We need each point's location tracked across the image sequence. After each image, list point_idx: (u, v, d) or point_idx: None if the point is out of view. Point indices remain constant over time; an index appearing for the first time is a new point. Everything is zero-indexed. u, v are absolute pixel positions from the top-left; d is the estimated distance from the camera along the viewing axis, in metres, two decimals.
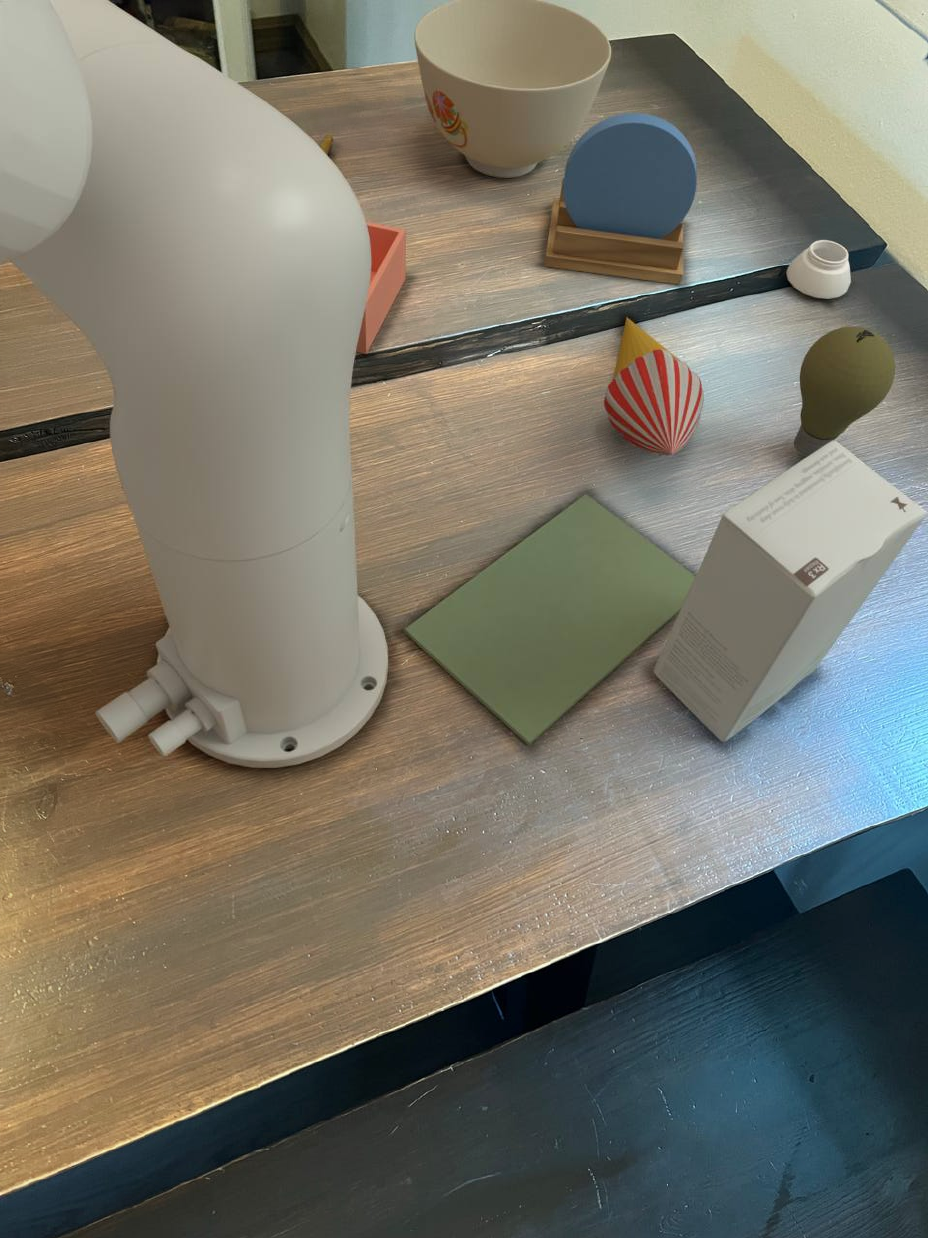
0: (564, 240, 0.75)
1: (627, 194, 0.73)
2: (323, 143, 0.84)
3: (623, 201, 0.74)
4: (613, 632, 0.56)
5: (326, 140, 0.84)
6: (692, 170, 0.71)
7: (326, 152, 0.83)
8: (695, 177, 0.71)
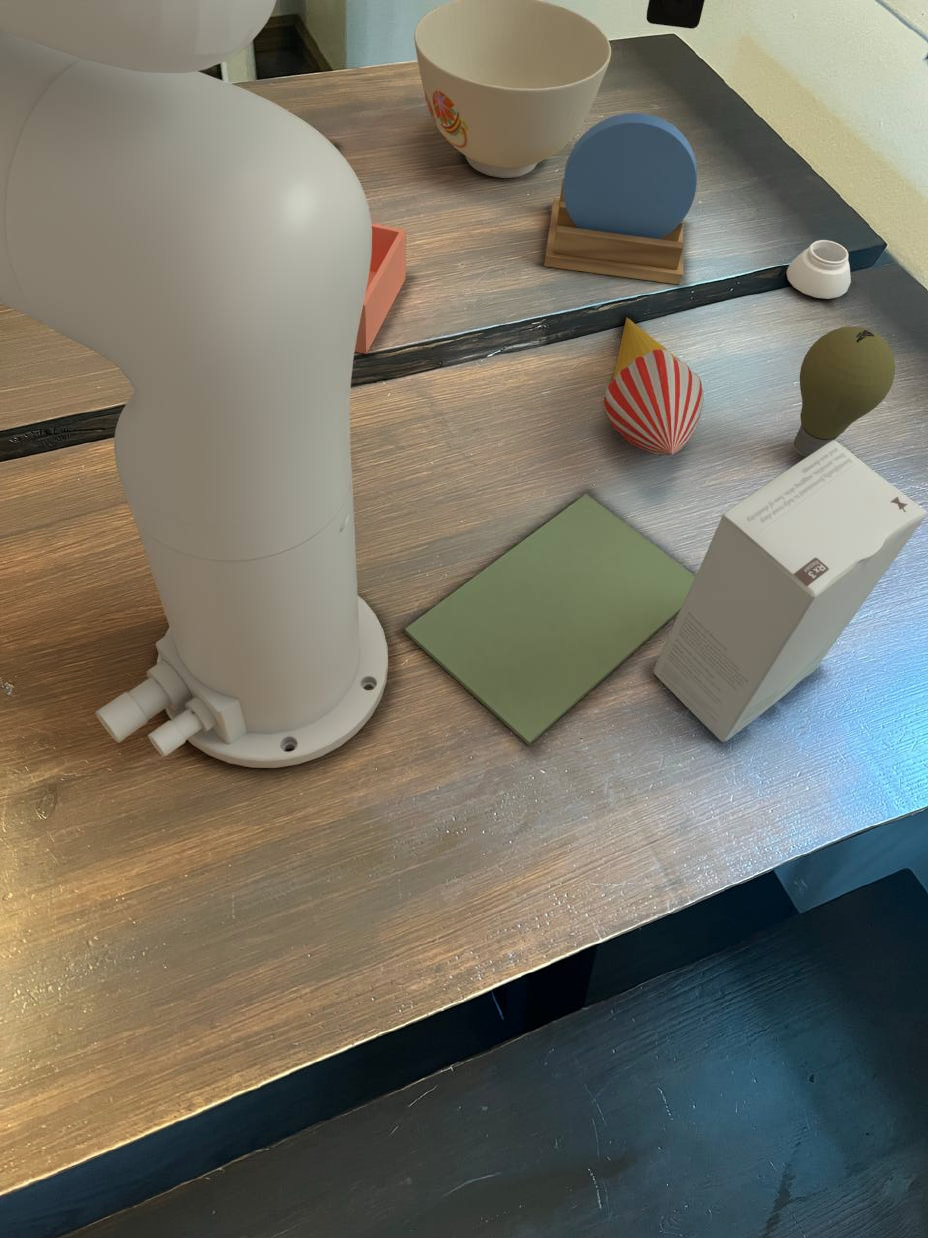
0: (564, 240, 0.75)
1: (627, 194, 0.73)
2: None
3: (623, 201, 0.74)
4: (613, 632, 0.56)
5: None
6: (692, 170, 0.71)
7: None
8: (695, 177, 0.71)
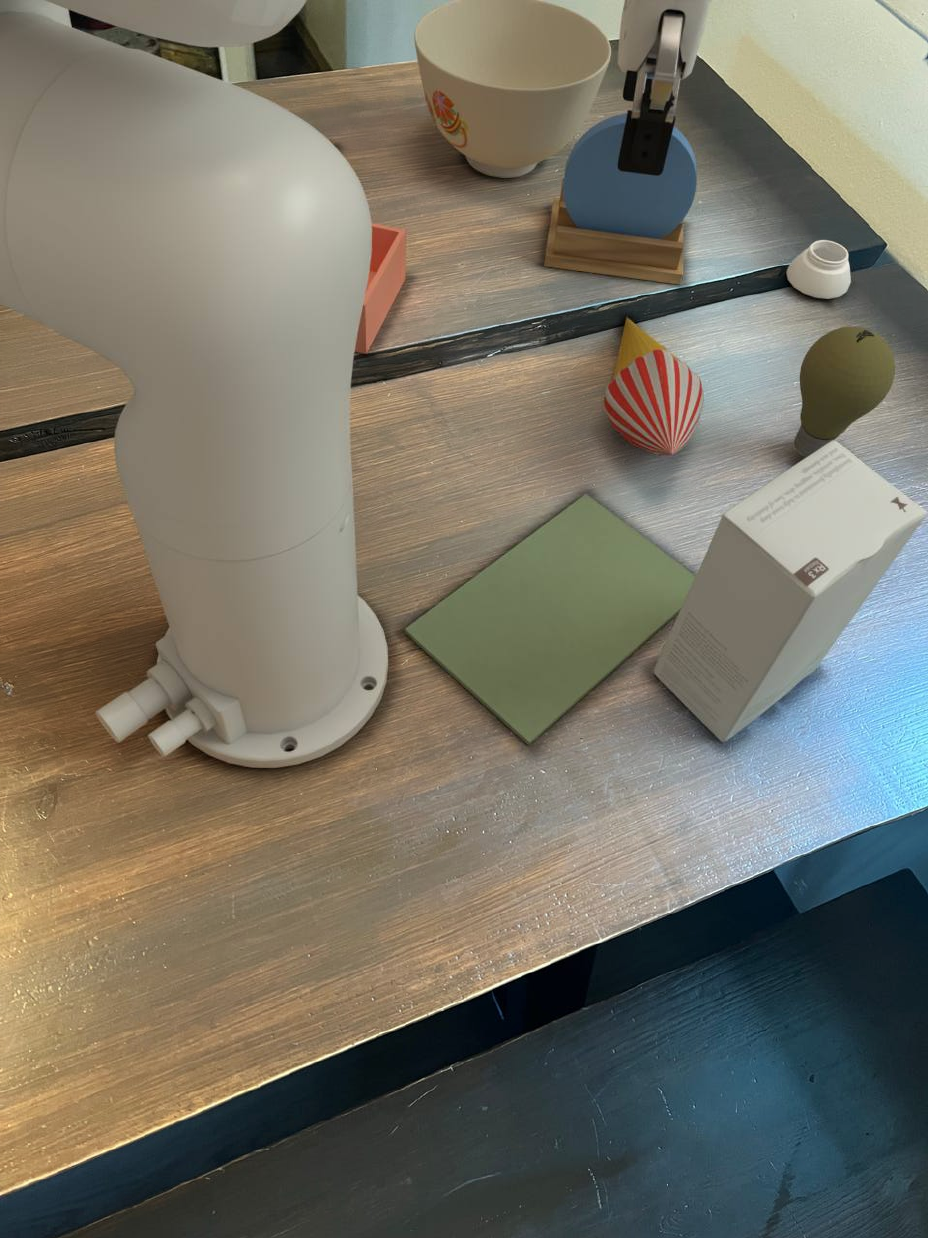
0: (564, 240, 0.75)
1: (627, 194, 0.73)
2: None
3: (623, 201, 0.74)
4: (613, 632, 0.56)
5: None
6: (692, 170, 0.71)
7: None
8: (695, 177, 0.71)
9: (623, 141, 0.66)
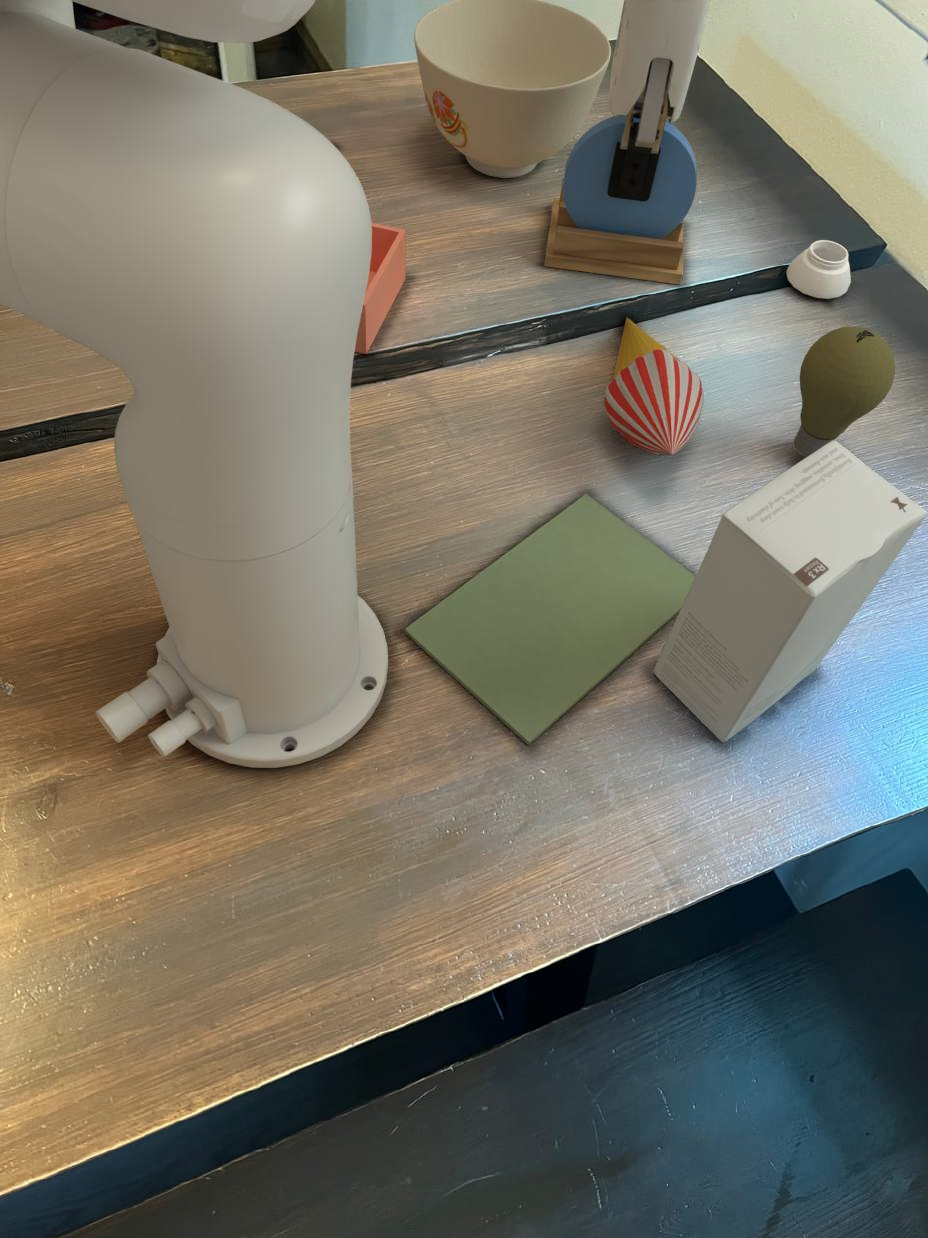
0: (564, 240, 0.75)
1: None
2: None
3: (623, 201, 0.74)
4: (613, 632, 0.56)
5: None
6: (692, 170, 0.71)
7: None
8: (695, 177, 0.71)
9: (612, 170, 0.71)
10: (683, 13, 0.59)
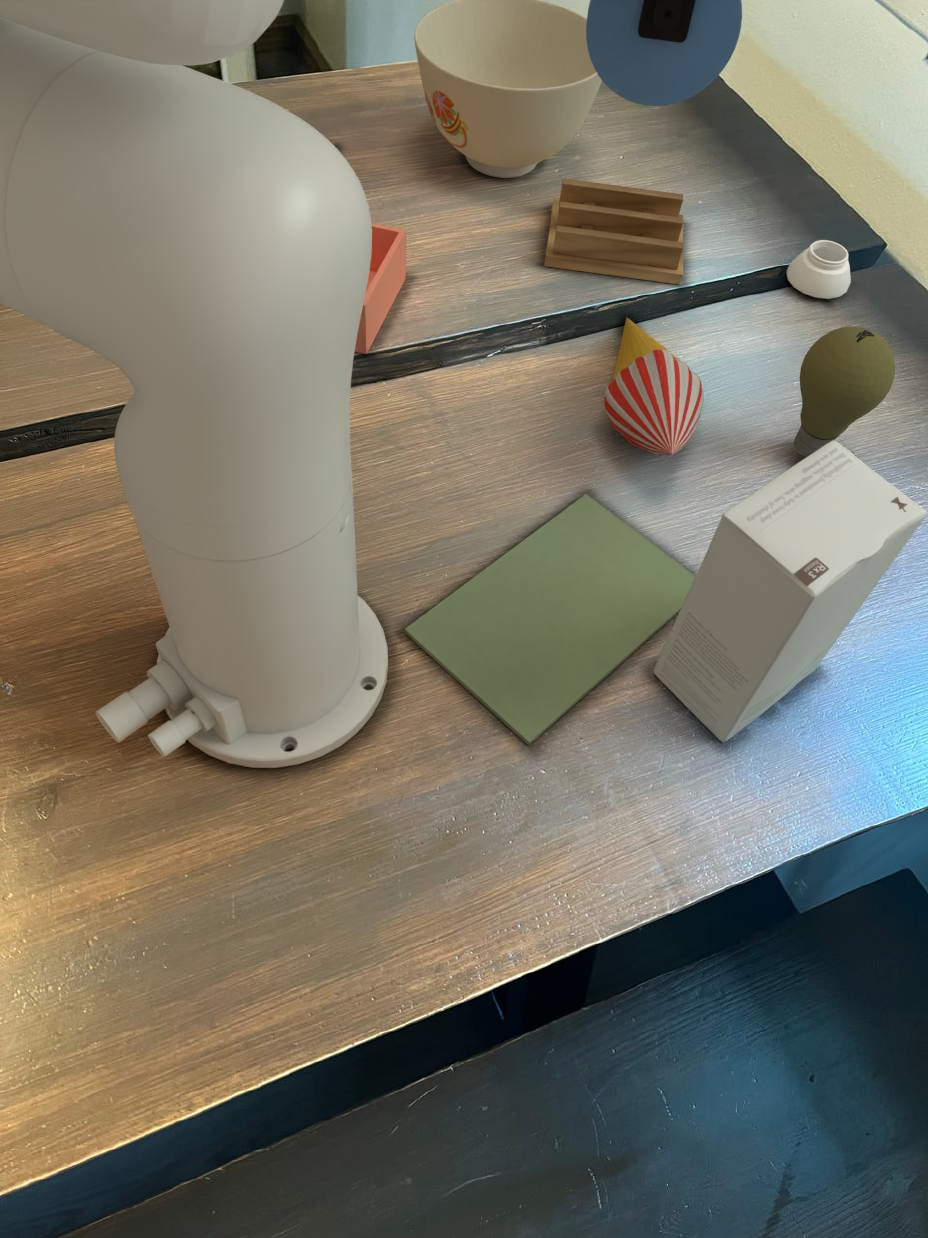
0: (564, 240, 0.75)
1: None
2: None
3: (655, 45, 0.64)
4: (613, 632, 0.56)
5: None
6: (737, 3, 0.61)
7: None
8: (740, 11, 0.62)
9: (645, 1, 0.61)
10: None
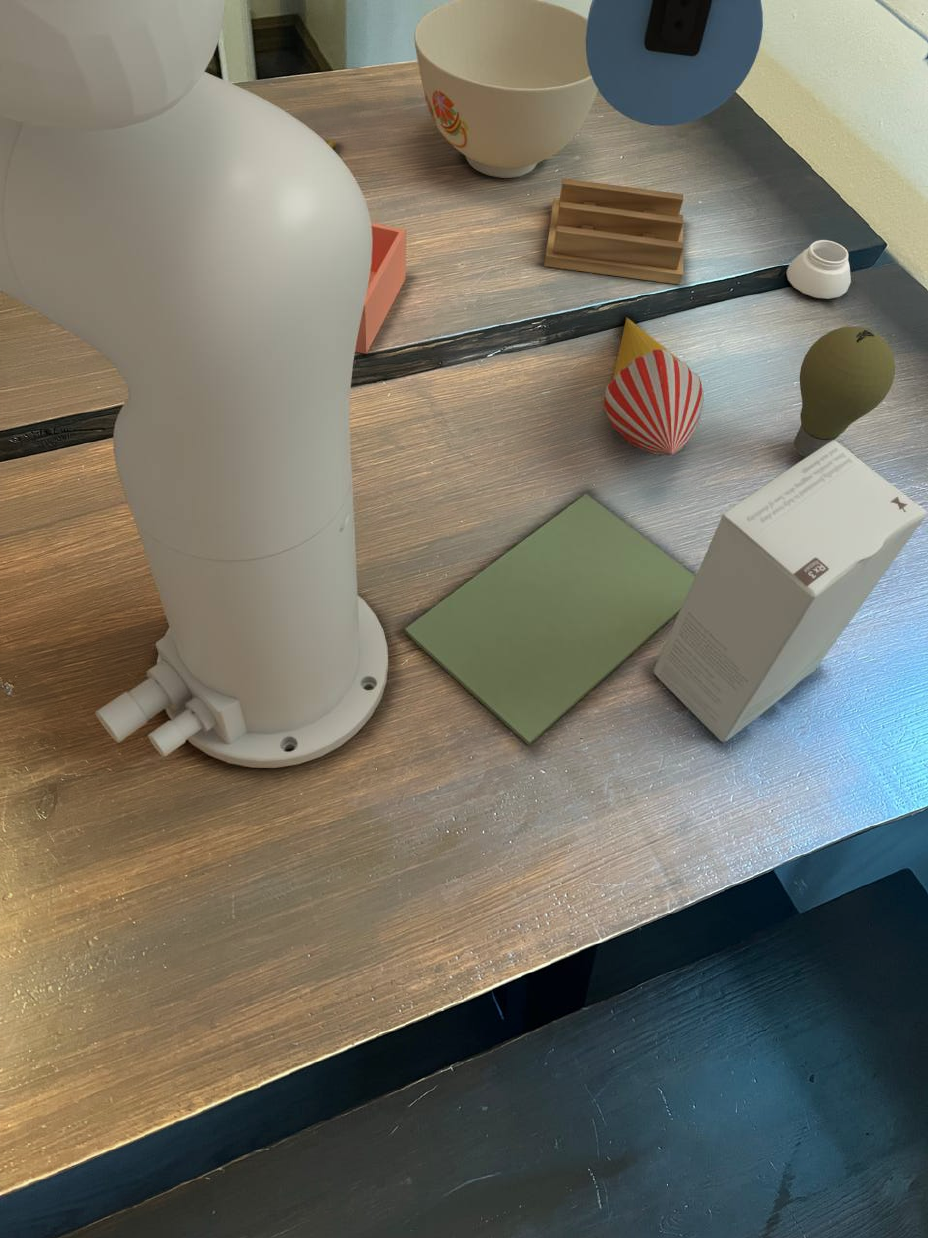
0: (564, 240, 0.75)
1: None
2: None
3: (664, 58, 0.56)
4: (613, 632, 0.56)
5: None
6: (758, 10, 0.54)
7: None
8: (761, 20, 0.54)
9: (652, 10, 0.54)
10: None
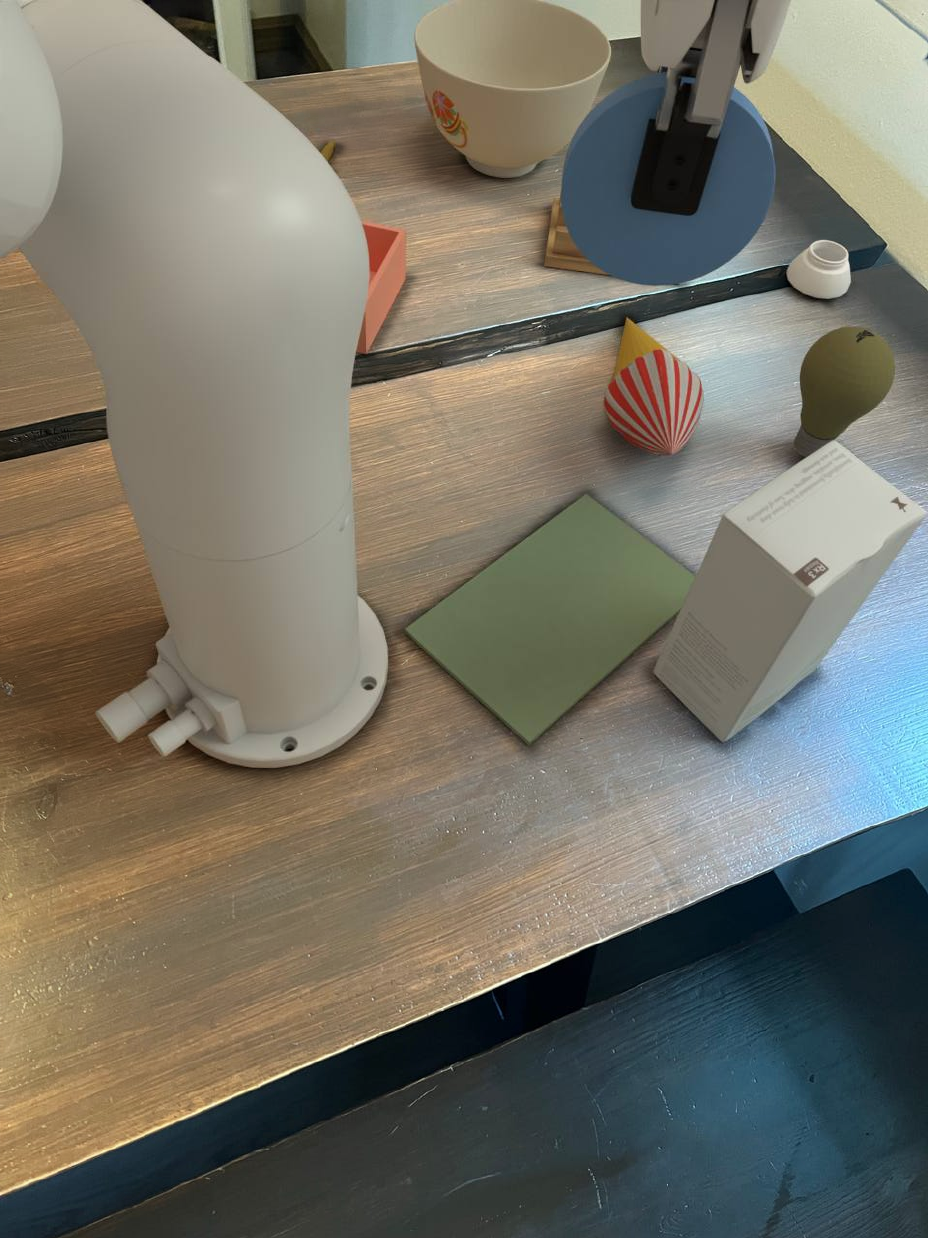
0: (564, 240, 0.75)
1: None
2: (325, 148, 0.84)
3: (656, 214, 0.47)
4: (613, 632, 0.56)
5: (328, 145, 0.84)
6: (769, 166, 0.44)
7: (327, 157, 0.84)
8: (773, 177, 0.45)
9: (641, 165, 0.44)
10: None
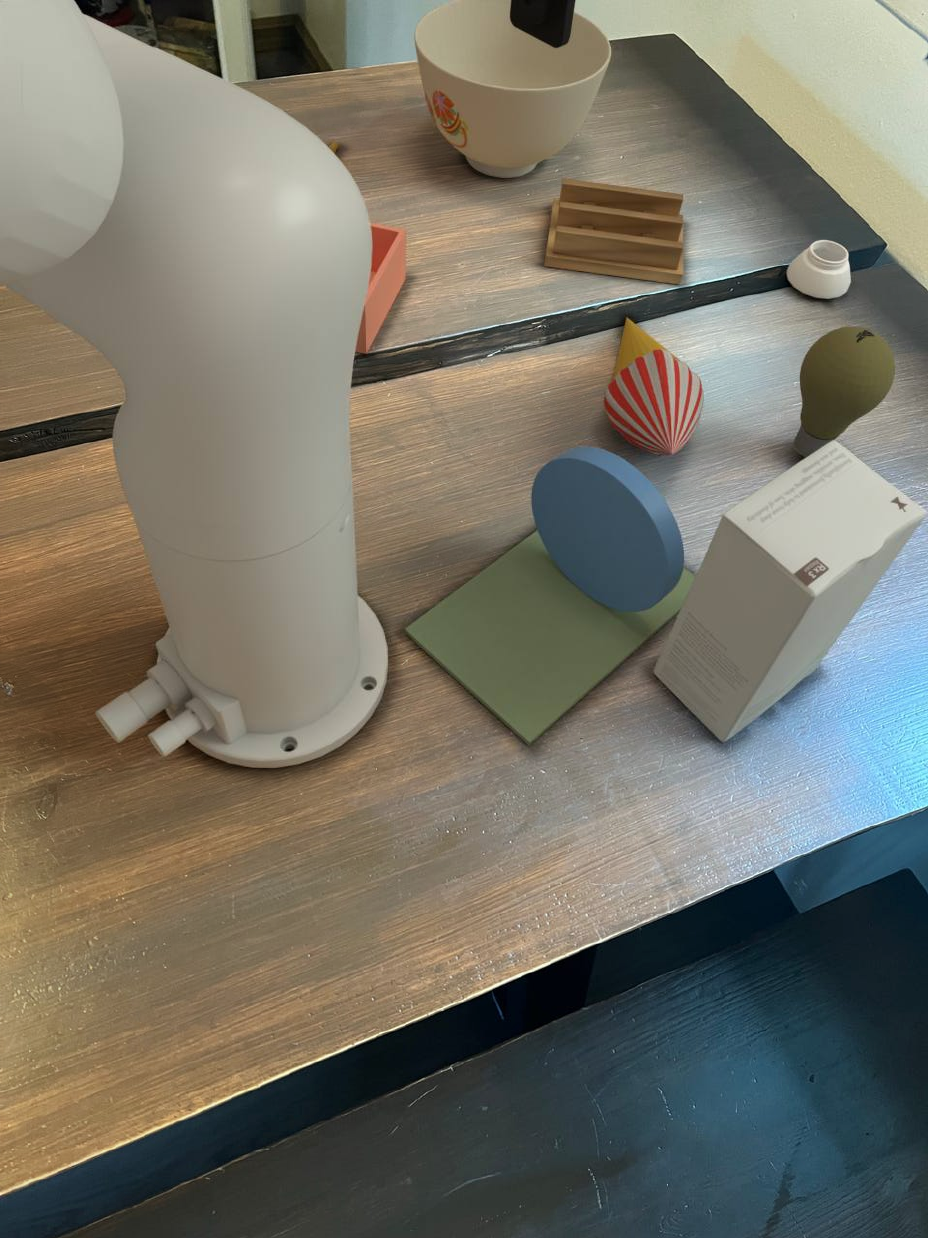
0: (564, 240, 0.75)
1: (594, 543, 0.54)
2: None
3: (589, 548, 0.55)
4: (613, 632, 0.56)
5: (331, 146, 0.84)
6: (664, 561, 0.51)
7: None
8: (667, 570, 0.51)
9: None
10: None
